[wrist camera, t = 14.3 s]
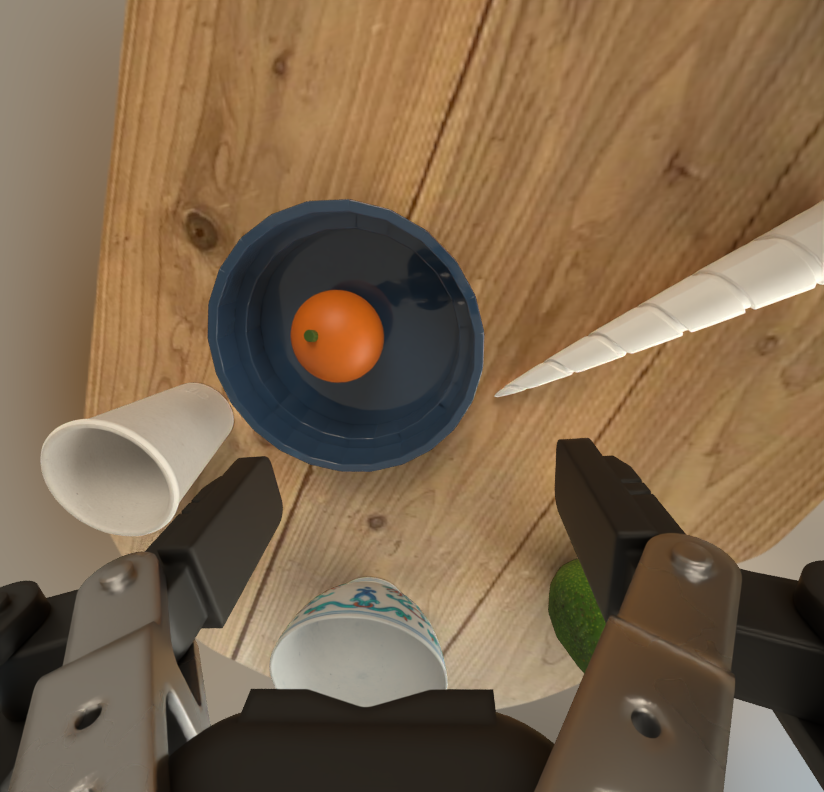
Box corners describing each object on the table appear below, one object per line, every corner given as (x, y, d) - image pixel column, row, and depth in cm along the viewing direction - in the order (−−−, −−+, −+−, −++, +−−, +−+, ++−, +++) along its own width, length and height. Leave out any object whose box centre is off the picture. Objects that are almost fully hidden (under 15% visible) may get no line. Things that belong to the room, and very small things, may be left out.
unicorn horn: (473, 352, 29) (480, 372, 25) (828, 185, 24) (917, 174, 20) (498, 404, 31) (508, 432, 26) (837, 258, 26) (922, 262, 21)
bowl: (256, 178, 26) (211, 164, 21) (506, 241, 26) (523, 242, 21) (241, 408, 32) (204, 440, 27) (442, 455, 33) (443, 495, 28)
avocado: (641, 557, 36) (734, 701, 25) (587, 609, 38) (648, 760, 27) (569, 521, 35) (631, 655, 24) (519, 577, 37) (553, 721, 26)
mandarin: (332, 287, 29) (275, 271, 23) (406, 307, 27) (366, 296, 21) (315, 365, 30) (257, 370, 24) (385, 389, 28) (342, 401, 22)
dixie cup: (159, 350, 31) (40, 398, 22) (260, 391, 32) (187, 455, 22) (144, 435, 34) (34, 509, 25) (236, 470, 35) (163, 555, 26)
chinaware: (409, 525, 36) (403, 596, 29) (467, 633, 41) (473, 717, 34) (272, 567, 39) (235, 641, 32) (340, 663, 44) (321, 746, 37)
